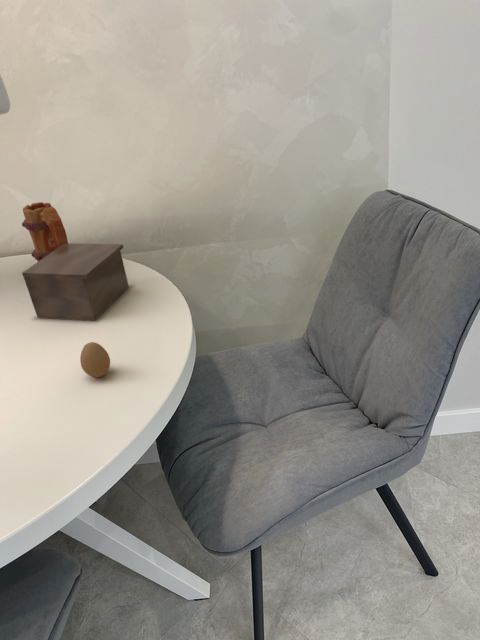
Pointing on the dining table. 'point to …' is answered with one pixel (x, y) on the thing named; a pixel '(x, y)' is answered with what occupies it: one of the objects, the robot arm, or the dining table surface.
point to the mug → (44, 228)
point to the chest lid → (73, 261)
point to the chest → (78, 292)
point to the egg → (94, 360)
